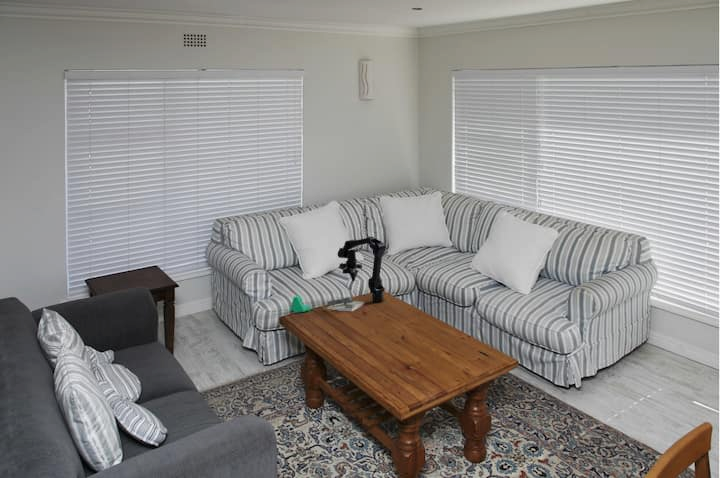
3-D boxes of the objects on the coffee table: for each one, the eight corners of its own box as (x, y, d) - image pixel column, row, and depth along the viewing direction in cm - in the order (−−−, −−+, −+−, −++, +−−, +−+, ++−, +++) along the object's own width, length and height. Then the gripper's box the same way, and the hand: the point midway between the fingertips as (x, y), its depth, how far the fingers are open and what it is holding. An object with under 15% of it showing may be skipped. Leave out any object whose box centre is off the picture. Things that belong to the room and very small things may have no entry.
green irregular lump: (312, 310, 388) (310, 294, 387) (303, 313, 382) (302, 297, 381) (298, 308, 396) (297, 293, 394) (290, 311, 390) (288, 296, 389)
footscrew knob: (350, 302, 393) (350, 296, 392) (354, 303, 388) (353, 297, 387) (326, 306, 386) (326, 301, 385) (330, 308, 381) (329, 302, 380)
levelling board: (364, 303, 392) (363, 297, 392) (352, 311, 376) (351, 304, 376) (339, 303, 400) (339, 296, 399) (326, 310, 384) (326, 303, 383)
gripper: (347, 256, 418) (349, 278, 420) (334, 261, 401) (336, 284, 403) (361, 256, 413) (363, 278, 415) (349, 261, 396) (351, 284, 398)
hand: (353, 281), depth 408 cm, fingers closed
